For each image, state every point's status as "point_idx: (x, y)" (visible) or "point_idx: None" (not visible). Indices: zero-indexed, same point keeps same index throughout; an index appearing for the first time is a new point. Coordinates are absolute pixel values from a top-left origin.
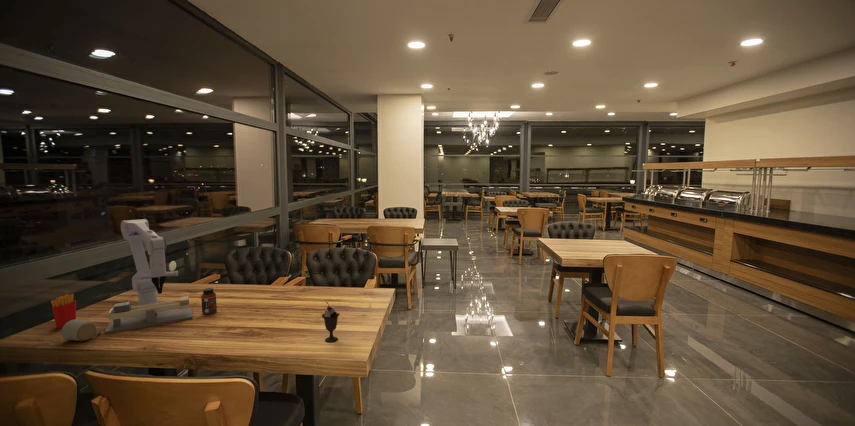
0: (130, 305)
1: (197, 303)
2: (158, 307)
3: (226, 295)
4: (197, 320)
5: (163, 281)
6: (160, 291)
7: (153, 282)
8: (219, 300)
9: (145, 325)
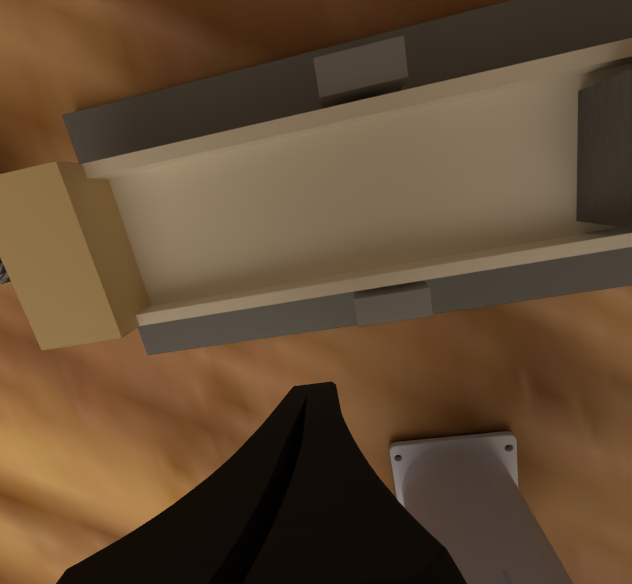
0: (625, 214)
1: (167, 460)
2: (285, 119)
3: (45, 536)
4: (24, 65)
5: (132, 542)
6: (296, 398)
7: (400, 530)
8: (49, 463)
9: (384, 35)
